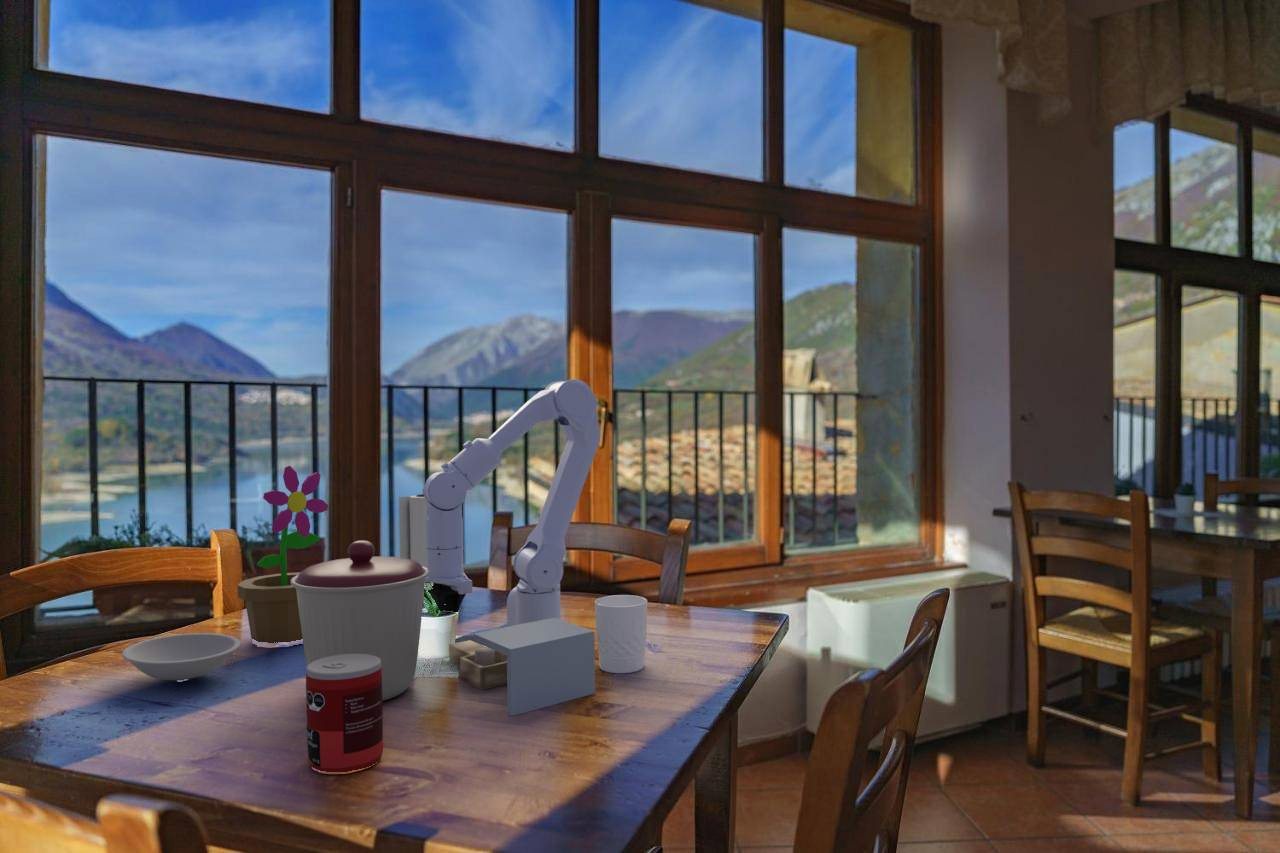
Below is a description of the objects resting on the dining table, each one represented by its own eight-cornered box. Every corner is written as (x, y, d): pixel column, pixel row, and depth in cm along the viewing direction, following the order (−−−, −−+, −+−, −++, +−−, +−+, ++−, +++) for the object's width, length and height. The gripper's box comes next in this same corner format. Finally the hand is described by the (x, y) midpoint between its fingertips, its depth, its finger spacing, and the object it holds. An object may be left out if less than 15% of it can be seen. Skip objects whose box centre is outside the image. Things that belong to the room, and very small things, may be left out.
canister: (456, 679, 122) (453, 533, 121) (378, 724, 104) (375, 554, 104) (352, 668, 127) (349, 529, 127) (262, 709, 110) (258, 548, 110)
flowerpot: (273, 656, 134) (269, 468, 133) (220, 644, 142) (216, 466, 141) (347, 635, 146) (344, 463, 146) (295, 625, 154) (291, 461, 153)
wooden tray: (433, 664, 129) (432, 636, 129) (485, 653, 134) (485, 626, 134) (482, 689, 117) (481, 659, 117) (537, 676, 122) (537, 646, 122)
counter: (474, 695, 114) (473, 633, 114) (554, 675, 122) (553, 617, 122) (511, 716, 106) (510, 649, 106) (595, 693, 115) (594, 631, 114)
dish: (101, 683, 122) (100, 649, 122) (201, 659, 133) (201, 627, 133) (160, 707, 112) (159, 669, 111) (263, 678, 123) (262, 644, 123)
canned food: (319, 749, 97) (317, 654, 97) (390, 746, 97) (388, 651, 97) (297, 778, 89) (295, 675, 89) (375, 774, 90) (373, 672, 90)
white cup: (642, 676, 122) (641, 607, 122) (589, 673, 123) (588, 605, 123) (652, 660, 129) (651, 595, 129) (602, 658, 131) (601, 594, 131)
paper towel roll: (446, 594, 178) (444, 493, 177) (432, 601, 172) (430, 496, 172) (414, 593, 179) (413, 493, 179) (400, 599, 174) (398, 496, 173)
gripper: (402, 544, 138) (403, 626, 138) (442, 555, 127) (443, 645, 127) (442, 539, 142) (443, 619, 143) (484, 550, 131) (484, 637, 131)
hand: (445, 631), depth 135 cm, fingers closed
